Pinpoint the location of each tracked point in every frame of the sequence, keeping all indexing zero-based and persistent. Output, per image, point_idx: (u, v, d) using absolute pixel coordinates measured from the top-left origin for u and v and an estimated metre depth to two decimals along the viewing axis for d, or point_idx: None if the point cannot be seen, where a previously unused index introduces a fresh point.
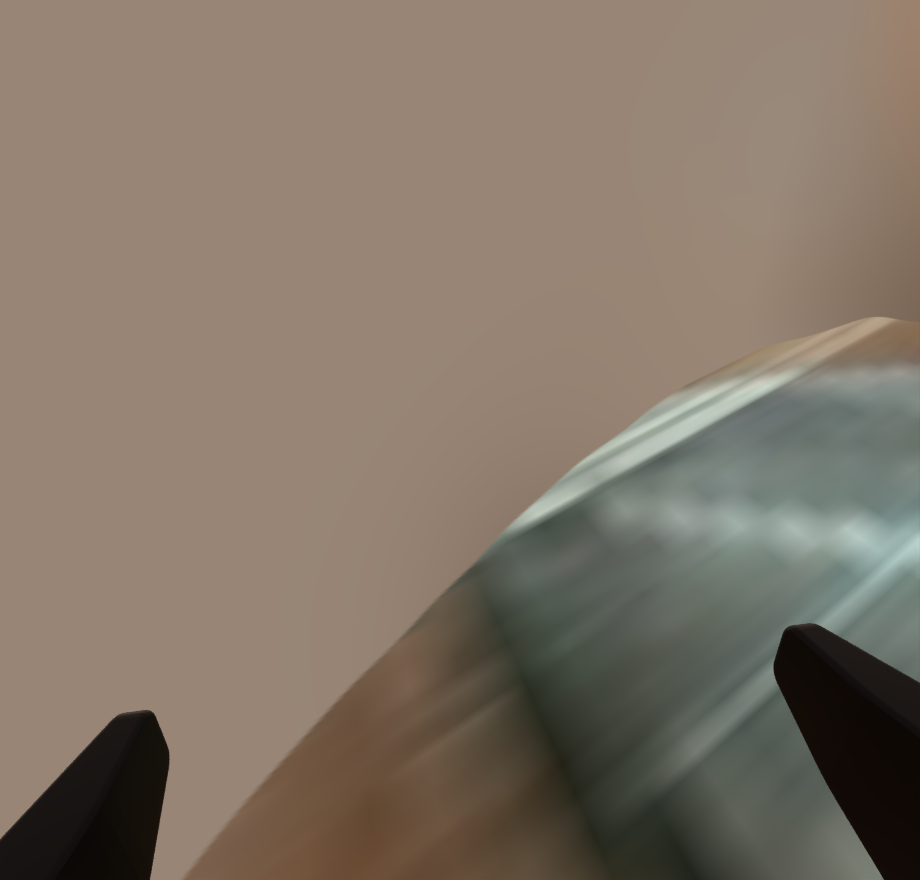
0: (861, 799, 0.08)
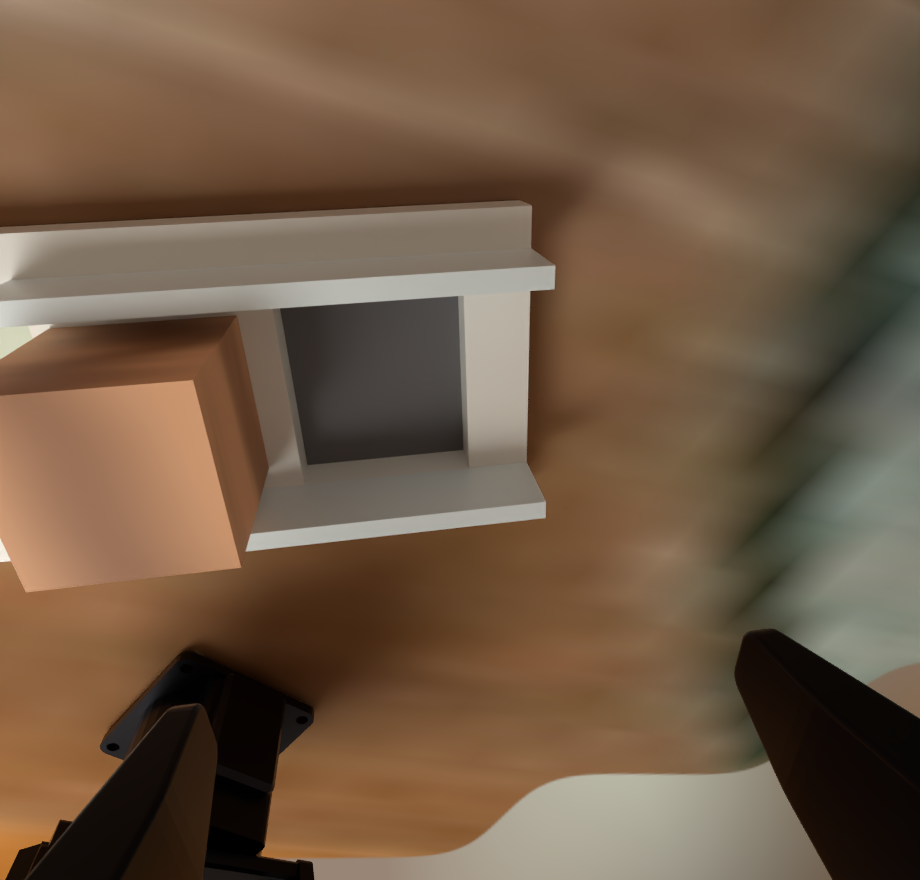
0: (815, 807, 0.08)
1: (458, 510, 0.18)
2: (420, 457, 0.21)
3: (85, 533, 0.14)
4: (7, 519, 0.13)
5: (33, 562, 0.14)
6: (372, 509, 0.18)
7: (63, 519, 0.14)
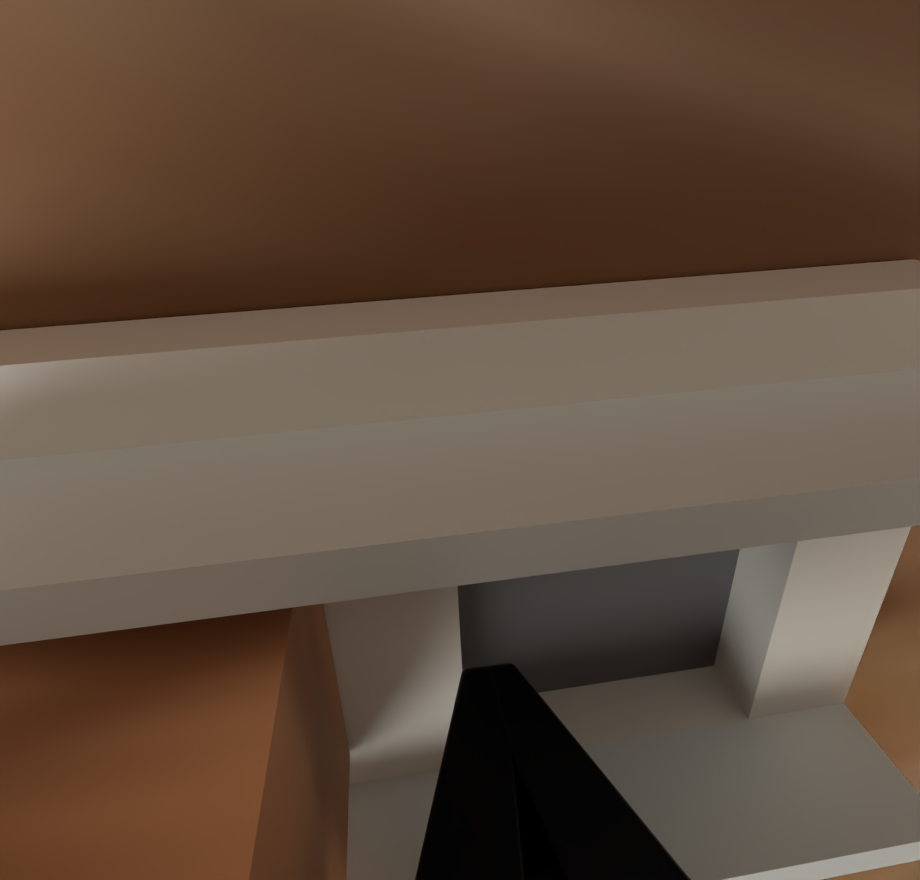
0: None
1: (795, 862, 0.09)
2: (648, 684, 0.12)
3: None
4: None
5: None
6: None
7: None
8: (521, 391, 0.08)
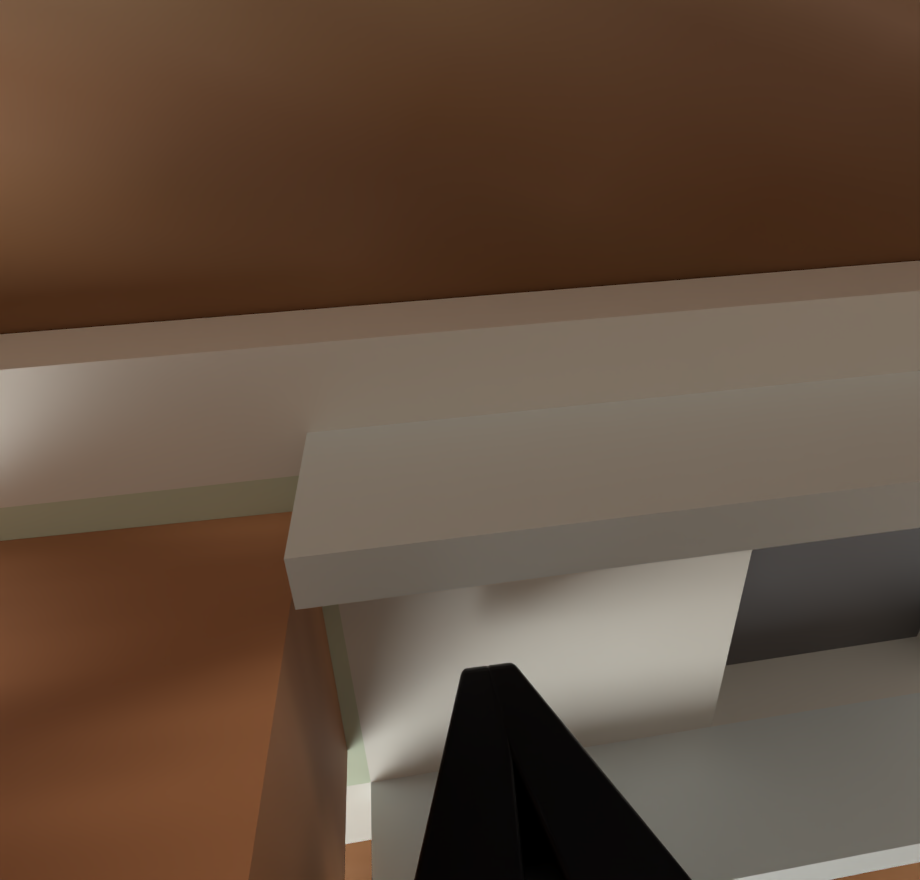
0: None
1: None
2: (858, 653, 0.13)
3: None
4: None
5: None
6: (892, 805, 0.10)
7: None
8: (859, 360, 0.08)
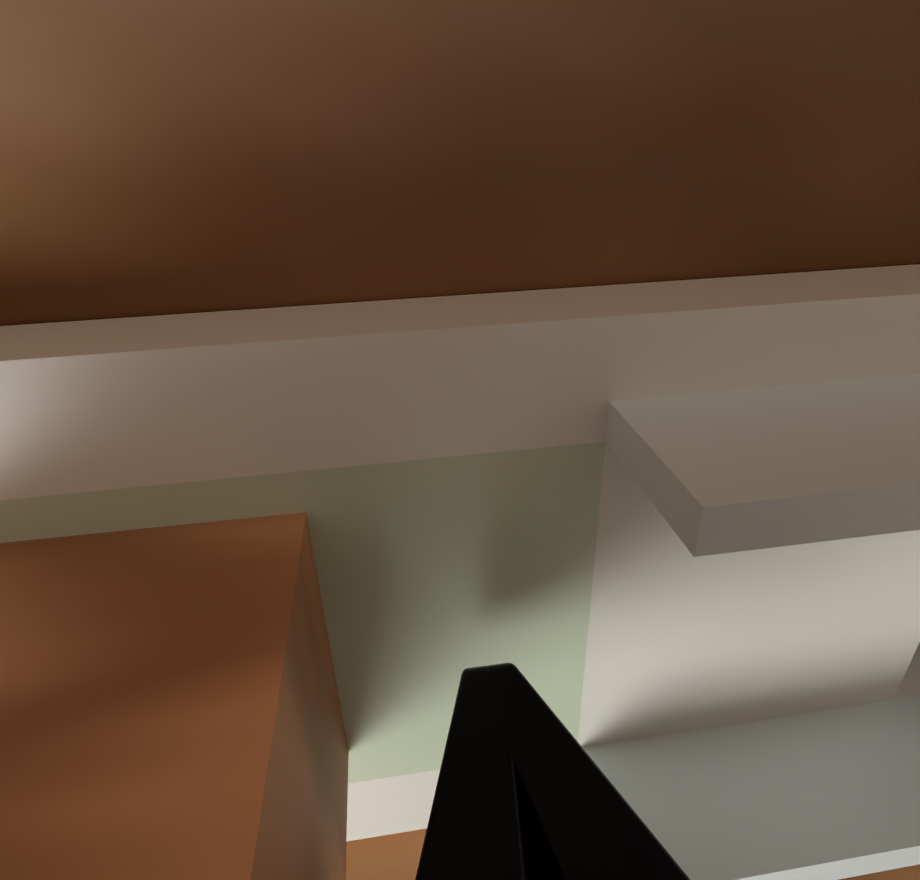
0: None
1: None
2: None
3: None
4: None
5: None
6: None
7: None
8: None
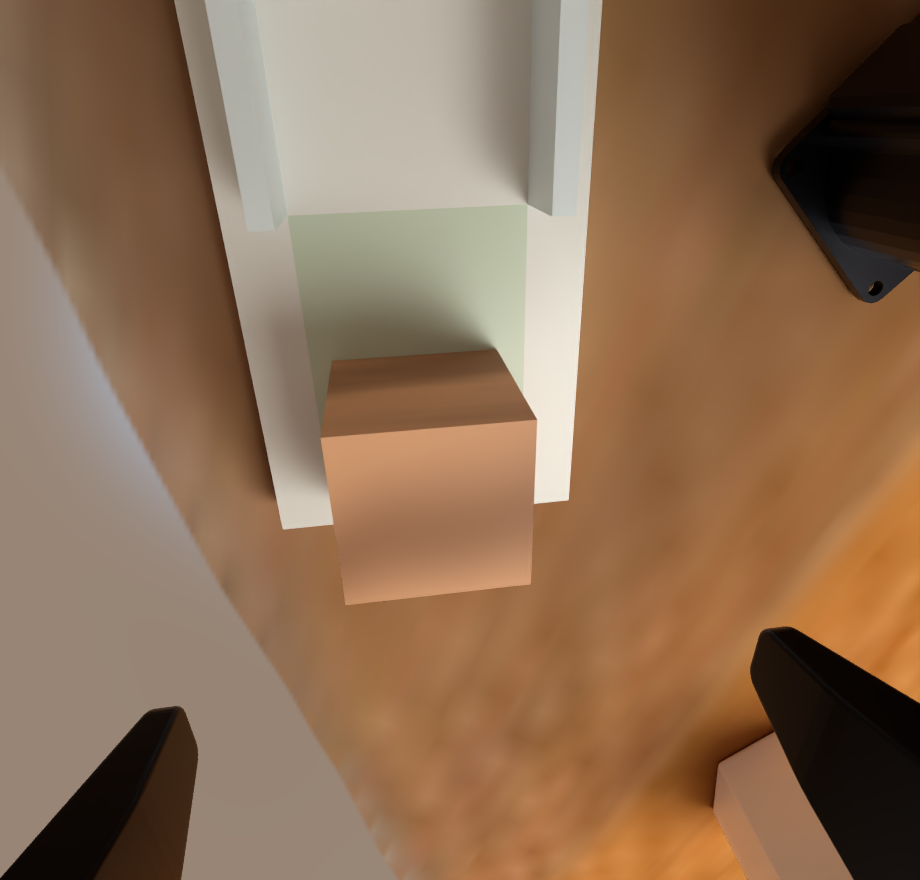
0: (834, 803, 0.08)
1: None
2: None
3: (475, 536, 0.15)
4: (455, 583, 0.16)
5: (500, 574, 0.16)
6: None
7: (459, 549, 0.16)
8: None
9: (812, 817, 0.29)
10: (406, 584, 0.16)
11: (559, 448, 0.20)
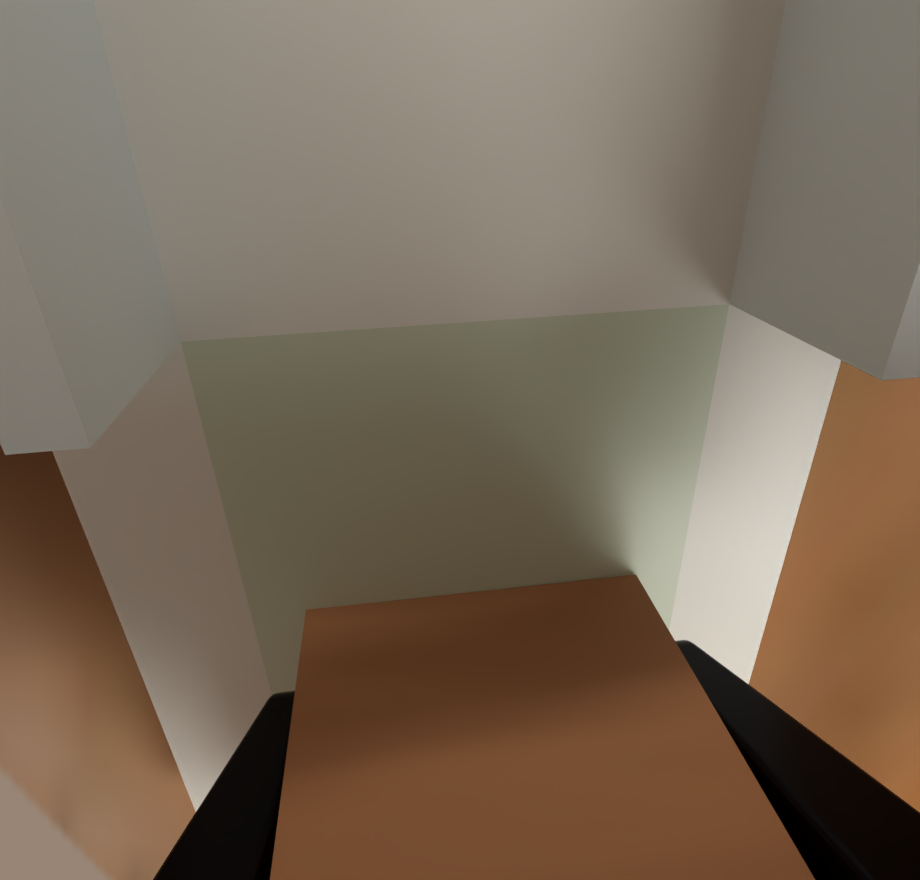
0: None
1: None
2: None
3: None
4: None
5: None
6: None
7: None
8: None
9: None
10: None
11: None
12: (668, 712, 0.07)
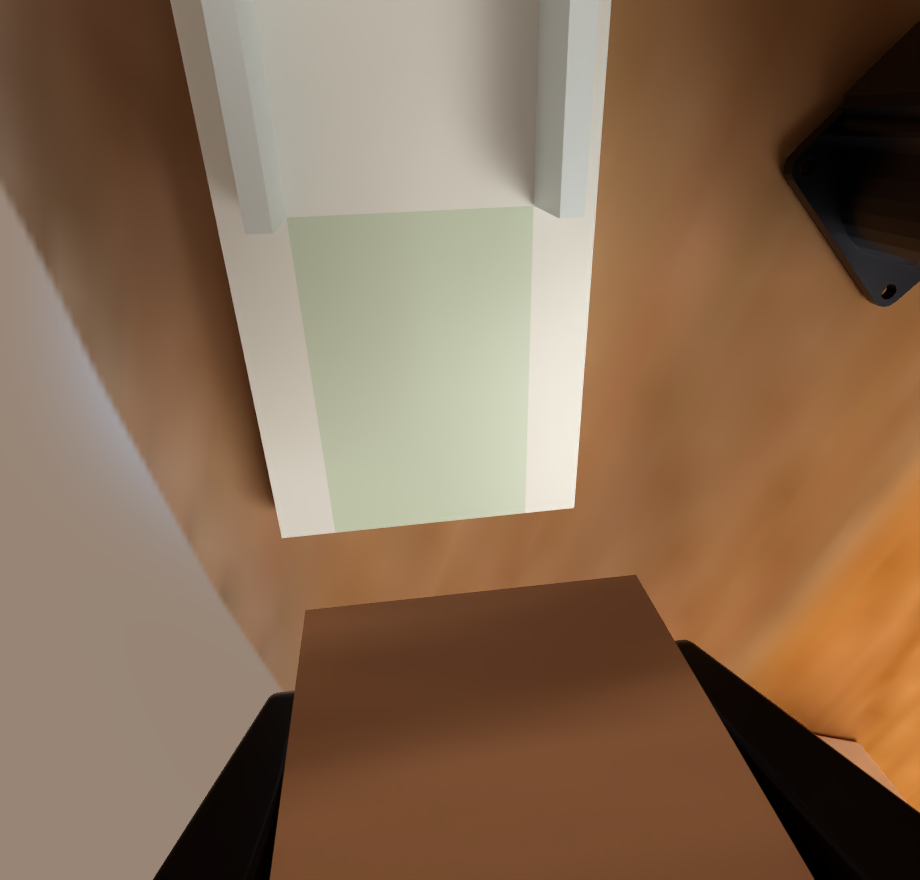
0: None
1: None
2: None
3: None
4: None
5: None
6: None
7: None
8: None
9: None
10: None
11: (564, 455, 0.20)
12: (667, 712, 0.07)
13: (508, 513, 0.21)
